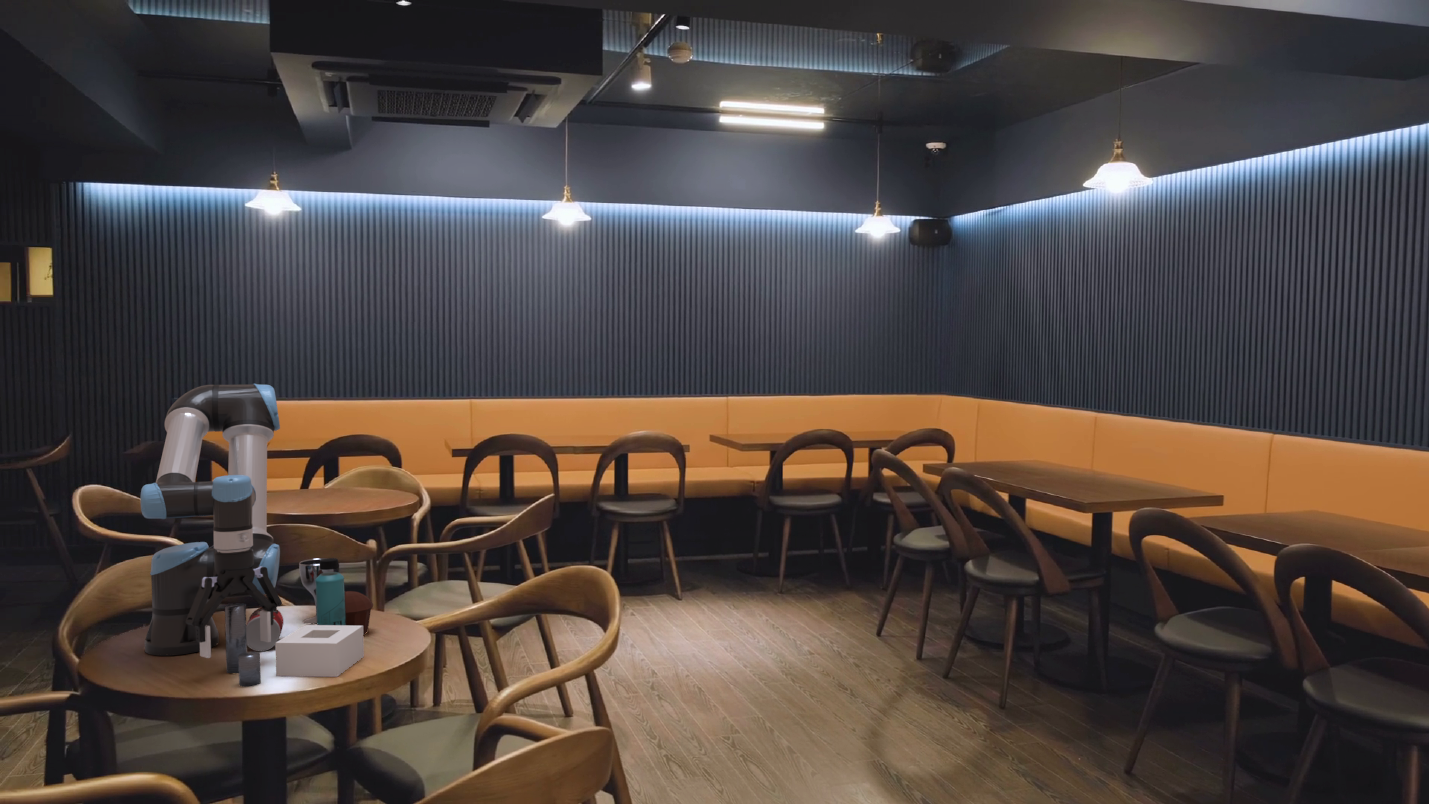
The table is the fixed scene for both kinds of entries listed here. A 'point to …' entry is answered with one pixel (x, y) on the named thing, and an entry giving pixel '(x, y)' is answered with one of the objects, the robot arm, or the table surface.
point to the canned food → (254, 631)
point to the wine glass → (311, 579)
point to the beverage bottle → (330, 595)
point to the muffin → (357, 609)
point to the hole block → (319, 650)
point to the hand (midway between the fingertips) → (236, 648)
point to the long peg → (235, 635)
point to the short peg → (249, 669)
